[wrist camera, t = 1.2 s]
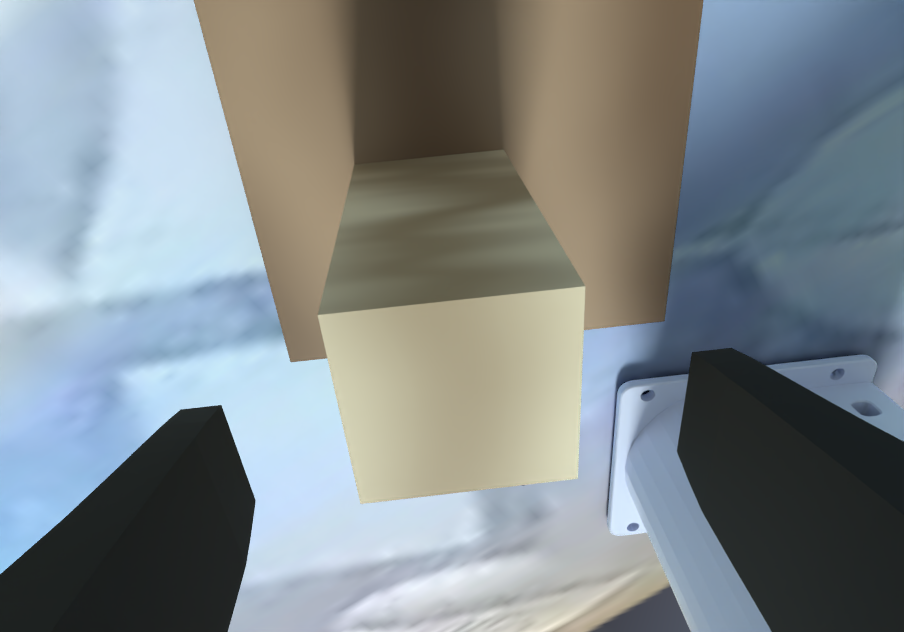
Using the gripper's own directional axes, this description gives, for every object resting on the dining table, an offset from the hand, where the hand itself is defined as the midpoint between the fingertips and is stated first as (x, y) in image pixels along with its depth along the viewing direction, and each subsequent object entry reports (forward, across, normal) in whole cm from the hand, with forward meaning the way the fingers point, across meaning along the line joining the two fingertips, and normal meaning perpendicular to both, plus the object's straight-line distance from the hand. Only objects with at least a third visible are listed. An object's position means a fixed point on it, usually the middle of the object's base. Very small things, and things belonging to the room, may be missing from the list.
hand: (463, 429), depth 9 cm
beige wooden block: (+9, 0, 0) cm, 9 cm away
